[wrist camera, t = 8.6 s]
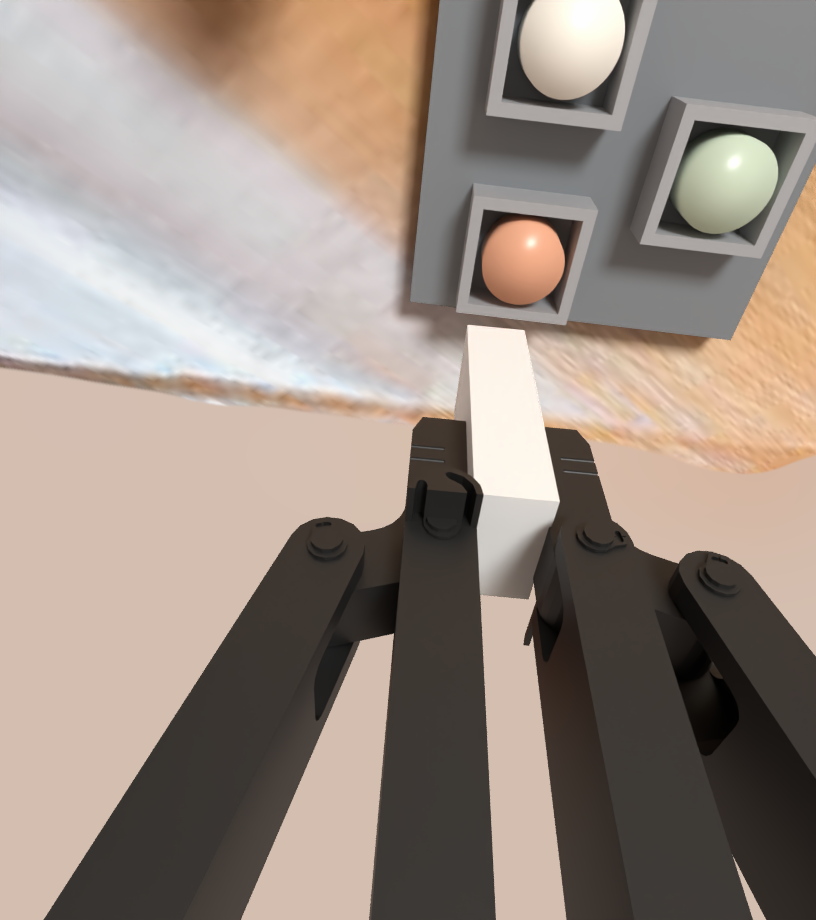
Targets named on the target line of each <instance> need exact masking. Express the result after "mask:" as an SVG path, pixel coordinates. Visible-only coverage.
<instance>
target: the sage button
mask: <svg viewBox="0 0 816 920" xmlns="http://www.w3.org/2000/svg"><path fill="white" fill-rule="evenodd" d="M777 179H778V165H777V160H776V157H775V155H774V153H773V152H772V150H771V149H770V148H769V147H768V146H767V145H766V144H765V143H763V142H761V141H759V140H758V139H756V138H754V137H752V136H750V135H748V134H746V133H744V132H742V131H740V130H737V129H733V128H718V129H714V130H711V131H708V132H705V133H703V134H701V135H700V136H698V137H696V138H695V139H694V140H692V141H691V142H690V143H689V144H688V145H687V146H686V147H685V150H684V153H683V155H682V158H681V161H680V164H679V167H678V170H677V173H676V176H675V178H674V181H673V184H672V187H671V190H670V193H669V199H670V201H671V204H672V205H673V207H674V208H675V209H676V210H677V211H678V212H679V213H680V215H681V216H682V217H683V218H684V219H685V220H686V221H687V222H688V223H689V224H690V225H691V226H692V227H694V228H695V229H697V230H699V231H701V232H704V233H709V234H721V233H726V232H730V231H733V230H736V229H738V228H740V227H742V226H744V225H745V224H747V223H748V222H750V221H751V220H752V219H754V218H755V217H756V216H757V215H758V214H759V213H760V212H761V211H762V210H763V209H764V207H765V206H766V205H767V203H768V202H769V200H770V198H771V196H772V195H773V192H774V190H775V187H776V184H777Z"/></svg>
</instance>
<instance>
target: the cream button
mask: <svg viewBox="0 0 816 920" xmlns="http://www.w3.org/2000/svg"><path fill="white" fill-rule="evenodd" d="M624 36H625V20H624V14H623V10H622V7H621V4H620V2H619V0H532V1H531V2H530V4H529V5H528V7H527V9H526V10H525V13H524V15H523V17H522V20H521V23H520V26H519V31H518V38H517V49H518V56H519V61H520V64H521V67H522V69H523V71H524V73H525V74H526V76H527V77H528V79H529V80H530V82H531V83H532V84H533V86H534V87H535V88H536V89H537V90H539V91H540V92H541V93H542V94H544V95H546V96H548V97H551V98H553V99H558V100H570V99H575V98H579V97H582V96H584V95H586V94H588V93H590V92H592V91H593V90H594V89H596V88H597V87H598V86H599V85H600V84H601V83H603V82H604V80H605V79H606V78H607V77H608V76H609V74H610V73H611V71H612V70H613V68H614V67H615V65H616V63H617V61H618V59H619V56H620V53H621V50H622V47H623V42H624Z"/></svg>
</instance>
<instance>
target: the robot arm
mask: <svg viewBox="0 0 816 920" xmlns="http://www.w3.org/2000/svg"><path fill="white" fill-rule="evenodd" d="M454 416H455V420H449V419H438V418H428V417H423V418H422V419H421V420H420V421H419V423H418V424H417V425H416V426H415V427H414V429H413V433H412V443H411V454H410V465H409V474H408V486H407V496H406V506H405V510H404V512H403V513H402V515H401V516H400V518H398V519H397V520H396V521H395V522H393V523H392V524H390V525H388V526H386V527H384V528H380V529H376V530H371V531H365V532H360V531H359V530H358V529H357V528H356V527H355V526H354V524H352V523H349V522H347V521H345V520H343V519H339V518H330V517H325V518H319V519H313V520H311V521H308V522H307V523H305V524H302V525H300V526H299V527H298V529H297V530H296V531H295V532H294V533H293V534H292V535H291V537H290V538H289V539H288V541H287V543H286V544H285V546H284V547H283V549H282V550H281V552H280V553H279V555H278V557H277V558H276V560H275V561H274V563H273V564H272V566H271V567H270V569H269V571H268V572H267V574H266V575H265V577H264V578H263V580H262V581H261V583H260V585H259V586H258V588H257V589H256V591H255V592H254V594H253V595H252V597H251V599H250V600H249V602H248V603H247V605H246V606H245V608H244V609H243V611H242V612H241V614H240V616H239V617H238V619H237V620H236V622H235V623H234V625H233V627H232V628H231V630H230V631H229V633H228V634H227V636H226V637H225V639H224V641H223V642H222V644H221V645H220V647H219V648H218V650H217V651H216V653H215V654H214V656H213V658H212V659H211V661H210V662H209V664H208V665H207V667H206V668H205V670H204V672H203V673H202V675H201V676H200V678H199V679H198V681H197V682H196V684H195V685H194V687H193V689H192V690H191V692H190V693H189V695H188V696H187V698H186V700H185V701H184V703H183V704H182V706H181V707H180V709H179V710H178V712H177V713H176V715H175V717H174V718H173V720H172V721H171V723H170V724H169V726H168V728H167V729H166V731H165V732H164V734H163V735H162V737H161V738H160V740H159V742H158V743H157V745H156V746H155V748H154V749H153V751H152V752H151V754H150V756H149V757H148V758H147V760H146V762H145V763H144V765H143V766H142V768H141V769H140V771H139V772H138V774H137V776H136V777H135V779H134V780H133V782H132V783H131V785H130V786H129V788H128V790H127V791H126V793H125V794H124V796H123V797H122V799H121V801H120V802H119V804H118V805H117V807H116V808H115V810H114V811H113V813H112V814H111V816H110V818H109V819H108V821H107V822H106V824H105V825H104V827H103V829H102V830H101V832H100V833H99V835H98V836H97V838H96V839H95V841H94V842H93V844H92V846H91V847H90V849H89V850H88V852H87V853H86V855H85V856H84V858H83V860H82V861H81V863H80V864H79V866H78V867H77V869H76V870H75V872H74V873H73V875H72V877H71V878H70V880H69V881H68V883H67V884H66V886H65V887H64V889H63V891H62V892H61V894H60V895H59V897H58V898H57V900H56V901H55V903H54V905H53V906H52V908H51V909H50V911H49V912H48V914H47V916H46V917H45V918H44V920H241V918H242V915H243V913H244V911H245V908H246V906H247V904H248V902H249V899H250V897H251V894H252V892H253V890H254V888H255V885H256V883H257V881H258V878H259V876H260V873H261V871H262V869H263V867H264V864H265V862H266V860H267V857H268V855H269V852H270V850H271V848H272V846H273V843H274V841H275V839H276V836H277V834H278V832H279V829H280V827H281V825H282V822H283V820H284V818H285V815H286V813H287V811H288V808H289V806H290V804H291V801H292V799H293V797H294V794H295V792H296V790H297V788H298V785H299V783H300V781H301V778H302V776H303V774H304V771H305V769H306V767H307V764H308V762H309V760H310V757H311V755H312V753H313V750H314V748H315V746H316V743H317V741H318V739H319V736H320V734H321V731H322V729H323V727H324V725H325V722H326V720H327V718H328V715H329V713H330V711H331V708H332V706H333V704H334V701H335V699H336V697H337V694H338V692H339V690H340V687H341V685H342V683H343V680H344V678H345V676H346V673H347V671H348V669H349V667H350V664H351V662H352V659H353V657H354V655H355V653H356V650H357V647H358V645H359V643H360V641H361V640H365V639H370V638H375V637H380V636H384V635H389V634H393V633H394V640H393V651H392V663H391V675H390V686H389V698H388V709H387V721H386V732H385V744H384V755H383V767H382V778H381V790H380V801H379V813H378V824H377V835H376V847H375V858H374V870H373V883H372V894H371V904H370V916H369V920H496V915H495V894H494V874H493V855H492V854H493V853H492V831H491V811H490V790H489V770H488V750H487V749H488V748H487V729H486V728H487V727H486V706H485V686H484V665H483V645H482V624H481V602H480V595H489V596H499V597H509V598H520V599H529V596H530V593H531V590H532V586H533V583H534V588H535V595H536V604H535V607H534V610H533V613H532V615H531V619H530V622H529V624H528V627H527V630H526V633H525V638H524V645H528V646H529V644H530V641H531V638H532V636H533V641H534V649H535V658H536V666H537V675H538V683H539V691H540V700H541V708H542V716H543V724H544V734H545V742H546V750H547V759H548V767H549V776H550V784H551V792H552V800H553V809H554V818H555V826H556V834H557V843H558V851H559V860H560V868H561V875H562V885H563V893H564V902H565V909H566V918H567V920H753V919H752V916H751V912H750V909H749V906H748V903H747V900H746V897H745V893H744V890H743V887H742V884H741V881H740V878H739V875H738V871H737V868H736V865H735V862H734V859H733V857H734V858H735V861H736V862H737V864H738V866H739V868H740V870H741V872H742V874H743V876H744V878H745V880H746V882H747V884H748V885H749V887H750V889H751V891H752V893H753V895H754V897H755V899H756V901H757V903H758V905H759V906H760V909H761V910H762V912H763V914H764V916H765V918H766V920H816V656H815V655H814V654H813V653H812V651H811V650H810V649H809V648H808V646H807V645H806V644H805V643H804V641H803V640H802V639H801V638H800V636H799V635H798V634H797V632H796V631H795V630H794V629H793V627H792V626H791V625H790V624H789V623H788V621H787V620H786V619H785V617H784V616H783V615H782V613H781V612H780V611H779V610H778V609H777V607H776V606H775V605H774V603H773V602H772V601H771V600H770V598H769V597H768V596H767V594H766V593H765V592H764V591H763V590H762V588H761V587H760V586H759V584H758V583H757V582H756V581H755V579H754V578H753V577H752V575H750V574H749V573H748V572H747V571H746V570H745V569H744V568H743V567H742V566H741V565H740V564H738V563H736V562H735V561H733V560H731V559H729V558H728V557H726V556H723V555H720V554H717V553H713V552H708V551H695V552H692V553H688V554H686V555H685V556H684V558H683V559H682V560H681V561H680V562H679V564H677V563H674V562H671V561H668V560H665V559H662V558H659V557H656V556H653V555H651V554H648V553H646V552H644V551H641V550H639V549H638V548H636V547H634V544H633V542H632V540H631V538H630V536H629V535H628V533H627V532H626V531H625V530H624V529H623V528H622V527H621V526H619V525H618V524H617V523H615V522H613V521H612V519H611V516H610V513H609V509H608V506H607V502H606V499H605V496H604V492H603V489H602V486H601V482H600V479H599V476H597V474H598V472H597V469H596V465H595V463H594V459H593V455H592V452H591V448H590V445H589V444H588V443H587V441H586V440H585V439H584V438H583V437H582V436H581V435H580V434H579V432H578V431H577V430H570V429H560V428H549V427H544V423H543V418H542V413H541V408H540V403H539V398H538V393H537V389H536V384H535V379H534V374H533V369H532V364H531V359H530V355H529V350H528V345H527V340H526V335H525V330H517V329H507V328H496V327H486V326H475V325H467V330H466V337H465V344H464V351H463V357H462V364H461V371H460V377H459V384H458V391H457V397H456V404H455V411H454ZM732 855H733V856H732Z"/></svg>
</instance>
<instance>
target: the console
mask: <svg viewBox="0 0 816 920" xmlns="http://www.w3.org/2000/svg"><path fill="white" fill-rule="evenodd" d="M531 1H532V0H440V3H439V13H438V23H437V34H436V44H435V54H434V64H433V74H432V84H431V94H430V104H429V114H428V124H427V134H426V144H425V154H424V164H423V174H422V184H421V194H420V204H419V214H418V224H417V234H416V244H415V254H414V264H413V274H412V284H411V294H410V302H416V303H425V304H433V305H441V306H450V307H456V312H458V313H466V314H474V315H483V316H491V317H499V318H508V319H516V320H524V321H533V322H541V323H549V324H558V325H566V323H567V321H575V322H583V323H592V324H600V325H608V326H617V327H625V328H633V329H642V330H650V331H658V332H667V333H675V334H684V335H692V336H700V337H709V338H717V339H725V340H731V338H732V336H733V334H734V332H735V330H736V328H737V326H738V323H739V321H740V319H741V317H742V315H743V313H744V311H745V309H746V307H747V305H748V303H749V301H750V299H751V296H752V294H753V292H754V290H755V288H756V286H757V284H758V282H759V280H760V278H761V276H762V274H763V271H764V269H765V267H766V265H767V263H768V261H769V259H770V257H771V255H772V253H773V251H774V249H775V246H776V244H777V242H778V240H779V238H780V236H781V234H782V232H783V230H784V228H785V226H786V224H787V222H788V219H789V217H790V215H791V213H792V211H793V209H794V207H795V205H796V203H797V201H798V199H799V197H800V194H801V192H802V190H803V188H804V186H805V184H806V182H807V180H808V178H809V176H810V174H811V172H812V169H813V167H814V165H815V163H816V0H619V2H620V4H621V7H622V10H623V14H624V20H625V36H624V42H623V47H622V50H621V53H620V56H619V59H618V61H617V63H616V65H615V67H614V68H613V70H612V71H611V73H610V74H609V76H608V77H607V78H606V79H605V80H604V82H603V83H601V84H600V85H599V86H598V87H597V88H596V89H594V90H593V91H592V92H590V93H588V94H586V95H584V96H582V97H579V98H575V99H570V100H558V99H553V98H551V97H548V96H546V95H544V94H542V93H541V92H540V91H539V90H537V89H536V88H535V87H534V86H533V84H532V83H531V82H530V80H529V79H528V77H527V76H526V74H525V73H524V71H523V69H522V67H521V64H520V61H519V56H518V49H517V38H518V31H519V26H520V23H521V20H522V17H523V15H524V13H525V10H526V9H527V7H528V5H529V4H530V2H531ZM718 128H733V129H737V130H740V131H742V132H744V133H746V134H748V135H750V136H752V137H754V138H756V139H758V140H759V141H761V142H763V143H765V144H766V145H767V146H768V147H769V148H770V149H771V150H772V152H773V153H774V155H775V157H776V160H777V165H778V179H777V184H776V187H775V190H774V192H773V195H772V196H771V198H770V200H769V202H768V203H767V205H766V206H765V207H764V209H763V210H762V211H761V212H760V213H759V214H758V215H757V216H756V217H755V218H754V219H752V220H751V221H750V222H748V223H747V224H745V225H744V226H742V227H740V228H738V229H736V230H733V231H730V232H726V233H721V234H709V233H704V232H701V231H699V230H697V229H695V228H694V227H692V226H691V225H690V224H689V223H688V222H687V221H686V220H685V219H684V218H683V217H682V216H681V215H680V213H679V212H678V211H677V210H676V209H675V208H674V207H673V205H672V204H671V201H670V199H669V193H670V190H671V187H672V184H673V181H674V178H675V176H676V173H677V170H678V167H679V164H680V161H681V158H682V155H683V153H684V150H685V147H686V146H687V145H688V144H689V143H690V142H691V141H692V140H694V139H695V138H696V137H698V136H700V135H701V134H703V133H705V132H708V131H711V130H714V129H718ZM509 213H519V214H527V215H536V216H543V217H545V218H546V219H548V220H549V221H550V222H551V224H552V225H553V226H554V228H555V230H556V232H557V235H558V237H559V240H560V243H561V245H562V248H563V251H564V256H565V266H564V271H563V274H562V277H561V279H560V281H559V283H558V284H557V286H556V287H555V288H554V289H553V290H552V291H551V292H550V293H549V294H548V295H547V296H545V297H544V298H542V299H541V300H538V301H536V302H533V303H530V304H524V305H515V304H510V303H506V302H504V301H502V300H500V299H498V298H497V297H496V296H494V295H493V294H492V293H491V292H490V290H489V289H488V287H487V286H486V284H485V281H484V278H483V273H482V259H481V249H482V243H483V240H484V237H485V235H486V233H487V231H488V230H489V229H490V227H491V226H492V225H493V224H494V223H495V222H496V221H497V220H498V219H500V218H501V217H503V216H505V215H507V214H509Z"/></svg>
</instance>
